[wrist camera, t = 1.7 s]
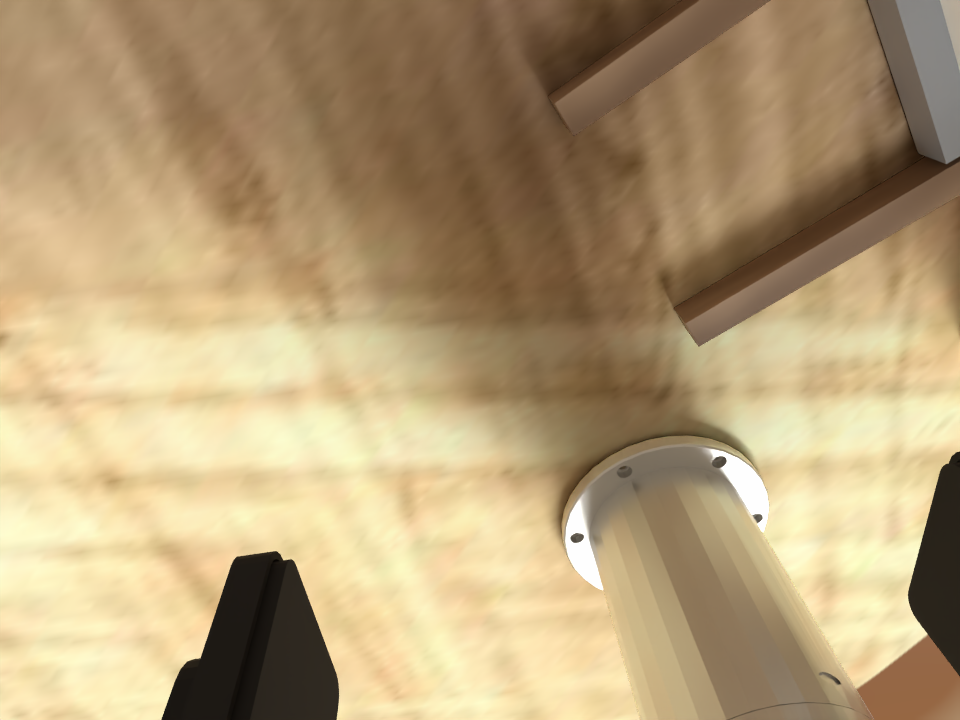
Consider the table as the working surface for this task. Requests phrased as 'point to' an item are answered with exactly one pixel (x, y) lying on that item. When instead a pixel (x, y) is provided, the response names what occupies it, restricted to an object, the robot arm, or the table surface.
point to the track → (804, 257)
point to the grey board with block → (925, 69)
